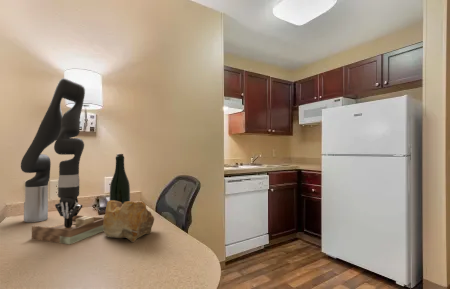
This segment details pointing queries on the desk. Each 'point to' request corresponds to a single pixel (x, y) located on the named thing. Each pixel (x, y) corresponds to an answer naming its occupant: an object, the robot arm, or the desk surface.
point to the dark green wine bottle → (120, 182)
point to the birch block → (84, 220)
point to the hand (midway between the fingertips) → (68, 226)
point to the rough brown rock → (127, 220)
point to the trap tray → (68, 231)
